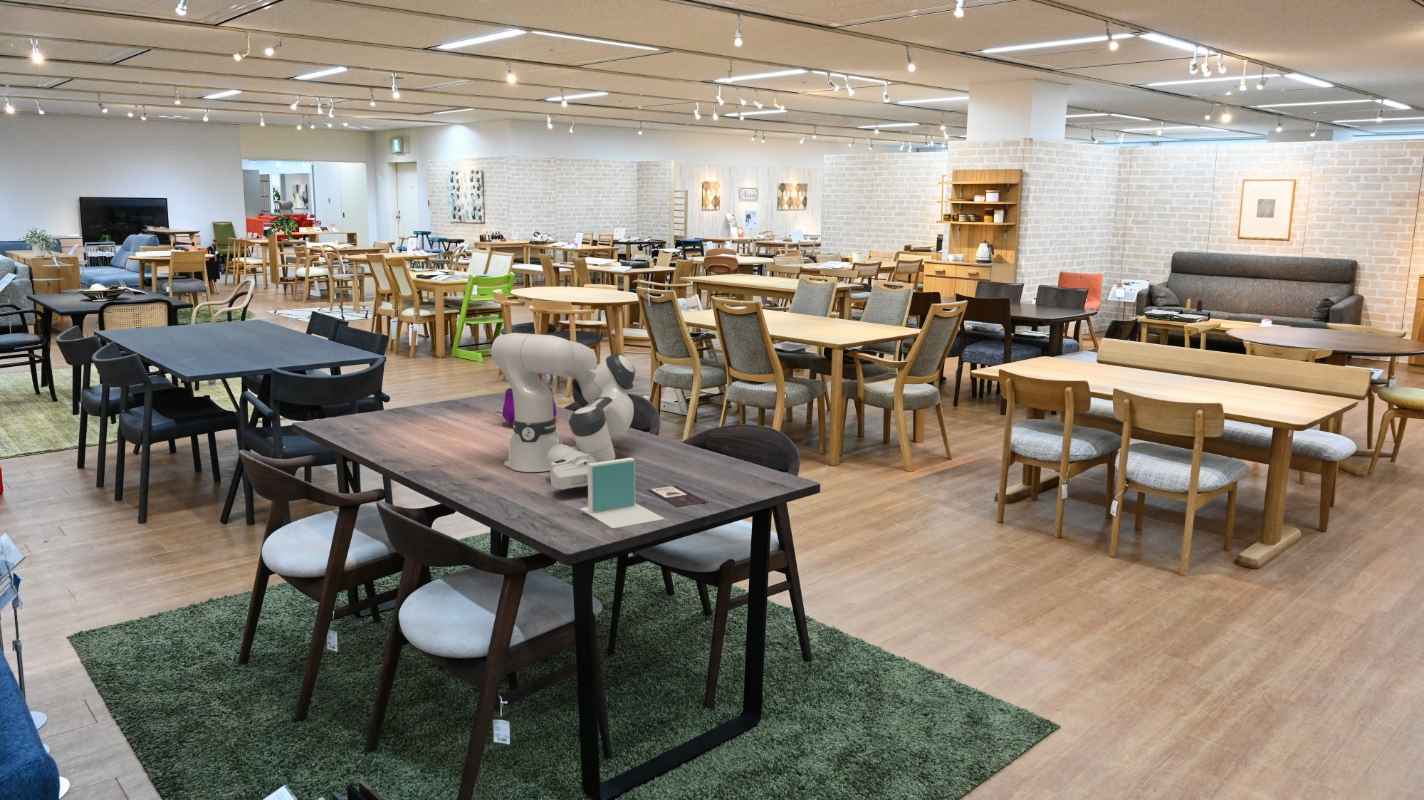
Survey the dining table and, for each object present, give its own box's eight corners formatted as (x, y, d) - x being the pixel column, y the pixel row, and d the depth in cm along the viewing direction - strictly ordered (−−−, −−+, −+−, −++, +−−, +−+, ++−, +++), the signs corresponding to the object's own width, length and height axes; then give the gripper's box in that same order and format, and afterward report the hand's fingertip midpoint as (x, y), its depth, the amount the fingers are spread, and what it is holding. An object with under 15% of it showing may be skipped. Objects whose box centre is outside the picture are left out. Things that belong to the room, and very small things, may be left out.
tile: (588, 510, 242) (587, 463, 240) (631, 503, 248) (631, 457, 246) (592, 513, 240) (591, 465, 238) (636, 505, 246) (635, 459, 244)
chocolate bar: (676, 507, 245) (646, 489, 261) (676, 510, 245) (646, 493, 261) (708, 502, 250) (676, 485, 265) (708, 506, 250) (676, 489, 265)
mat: (579, 510, 244) (579, 508, 244) (629, 502, 251) (629, 500, 251) (612, 530, 229) (612, 528, 229) (665, 520, 236) (665, 518, 236)
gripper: (615, 475, 268) (639, 487, 256) (545, 486, 257) (566, 500, 246) (615, 452, 267) (638, 464, 255) (544, 463, 256) (565, 476, 245)
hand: (602, 482), depth 250 cm, fingers closed
